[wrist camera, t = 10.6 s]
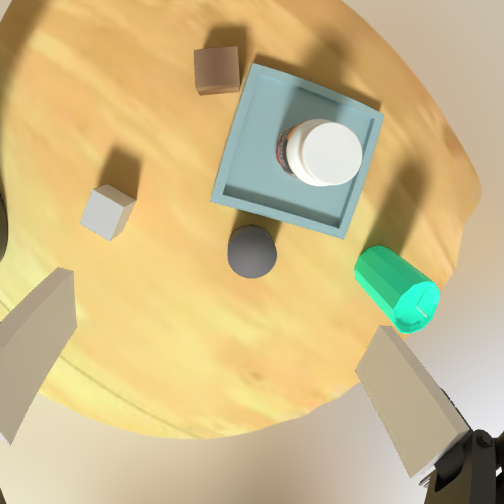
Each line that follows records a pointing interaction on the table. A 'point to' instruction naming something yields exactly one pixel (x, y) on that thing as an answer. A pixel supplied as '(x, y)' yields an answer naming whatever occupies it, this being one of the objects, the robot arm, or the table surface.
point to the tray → (264, 160)
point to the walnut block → (217, 70)
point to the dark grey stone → (251, 251)
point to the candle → (397, 288)
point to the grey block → (107, 211)
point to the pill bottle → (319, 152)
